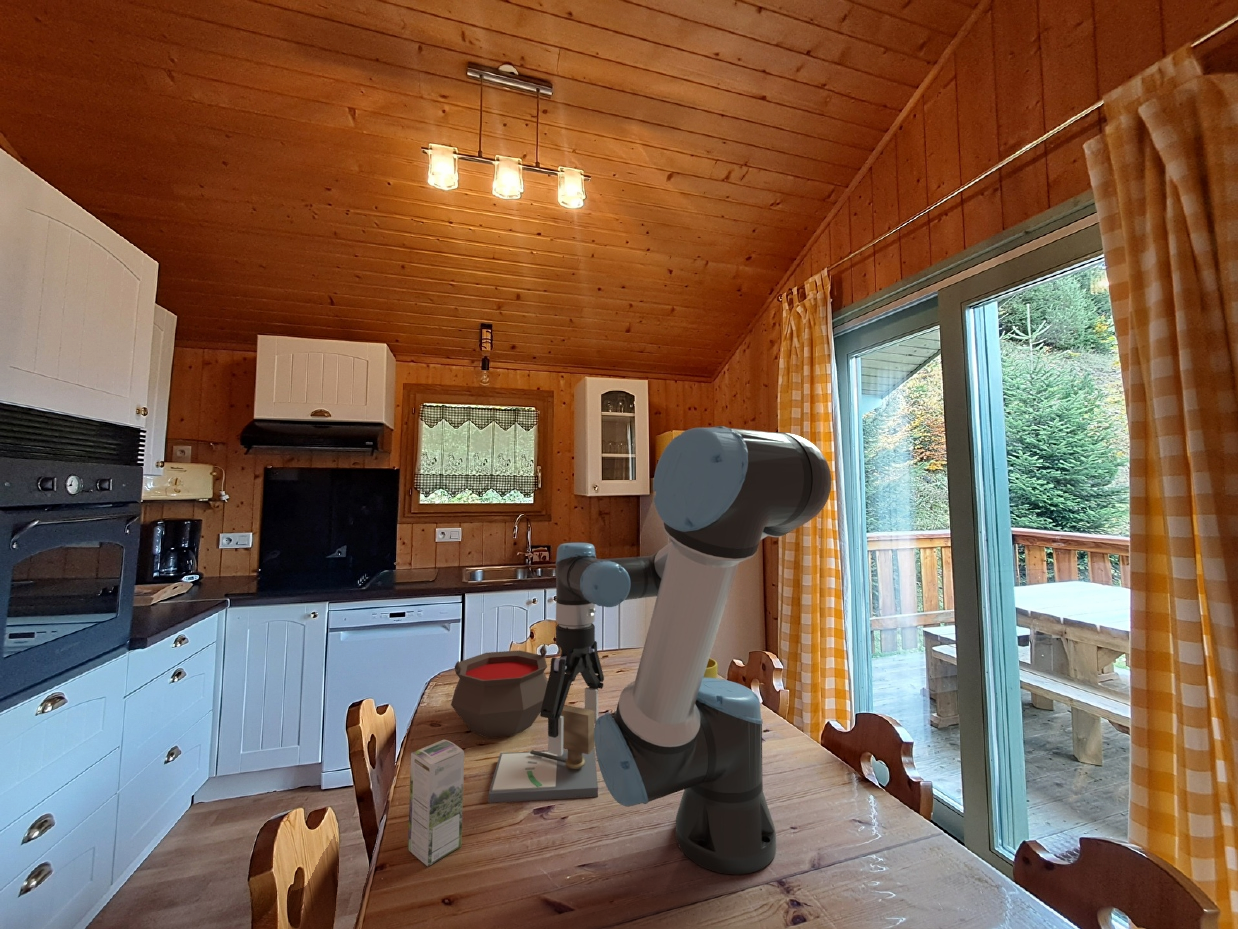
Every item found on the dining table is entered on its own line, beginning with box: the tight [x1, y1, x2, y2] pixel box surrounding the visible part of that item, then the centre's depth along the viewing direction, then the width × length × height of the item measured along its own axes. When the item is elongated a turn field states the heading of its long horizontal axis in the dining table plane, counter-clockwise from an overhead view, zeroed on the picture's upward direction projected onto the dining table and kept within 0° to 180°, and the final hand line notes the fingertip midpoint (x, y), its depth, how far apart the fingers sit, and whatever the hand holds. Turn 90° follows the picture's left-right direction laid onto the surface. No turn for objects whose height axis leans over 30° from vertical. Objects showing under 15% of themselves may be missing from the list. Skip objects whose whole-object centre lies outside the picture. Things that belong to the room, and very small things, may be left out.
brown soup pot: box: [450, 644, 548, 739], centre depth 118 cm, size 24×24×16 cm
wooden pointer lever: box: [529, 704, 595, 769], centre depth 97 cm, size 14×4×10 cm, turn 65°
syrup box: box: [407, 739, 465, 867], centre depth 76 cm, size 6×6×14 cm
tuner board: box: [487, 748, 599, 804], centre depth 95 cm, size 14×19×2 cm
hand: (574, 736), depth 96 cm, fingers open, 13 cm apart
